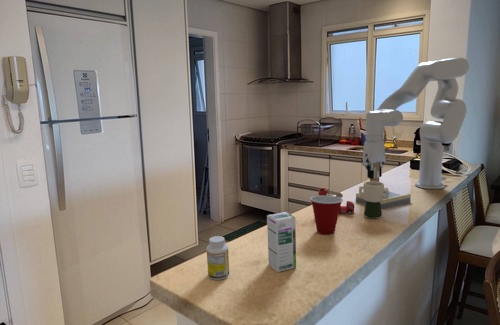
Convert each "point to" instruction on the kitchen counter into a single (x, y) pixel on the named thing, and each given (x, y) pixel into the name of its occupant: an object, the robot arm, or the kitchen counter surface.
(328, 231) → the plastic cup
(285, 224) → the syrup box
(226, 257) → the supplement bottle
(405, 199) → the tray
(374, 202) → the character mug
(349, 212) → the toy fire truck
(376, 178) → the sprinkles bottle
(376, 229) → the kitchen counter surface
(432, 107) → the robot arm
